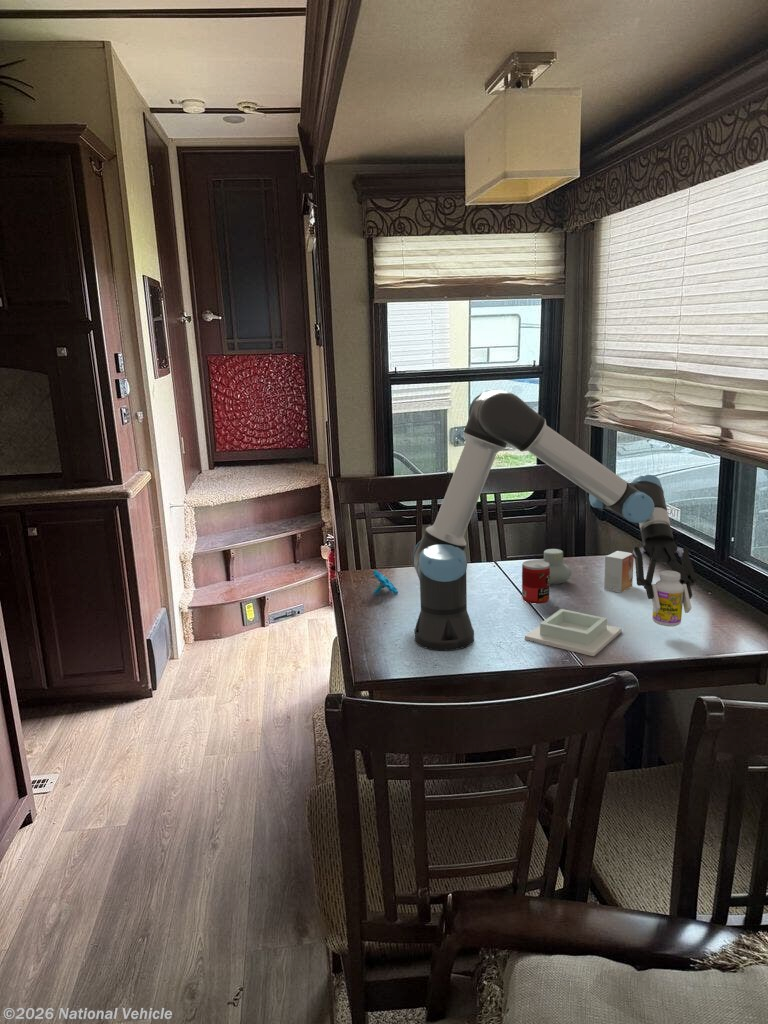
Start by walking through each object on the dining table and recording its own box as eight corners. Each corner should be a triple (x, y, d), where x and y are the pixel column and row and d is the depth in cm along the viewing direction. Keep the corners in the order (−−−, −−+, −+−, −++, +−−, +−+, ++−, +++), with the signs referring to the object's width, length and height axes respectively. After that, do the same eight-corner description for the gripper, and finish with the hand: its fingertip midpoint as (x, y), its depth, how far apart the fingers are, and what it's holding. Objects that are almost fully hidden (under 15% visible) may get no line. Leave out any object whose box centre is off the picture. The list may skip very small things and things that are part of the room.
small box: (621, 593, 204) (622, 559, 202) (603, 589, 208) (604, 555, 206) (633, 586, 210) (634, 553, 208) (615, 582, 214) (616, 550, 211)
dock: (593, 656, 162) (594, 640, 162) (524, 639, 173) (524, 624, 173) (621, 631, 176) (622, 617, 175) (555, 617, 187) (556, 603, 186)
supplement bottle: (650, 624, 170) (653, 575, 167) (654, 615, 176) (657, 567, 173) (679, 629, 167) (683, 578, 164) (682, 619, 173) (685, 570, 170)
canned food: (542, 606, 196) (543, 569, 194) (517, 601, 201) (517, 565, 199) (553, 598, 202) (554, 562, 200) (528, 593, 207) (529, 558, 204)
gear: (399, 594, 206) (375, 571, 205) (386, 608, 206) (361, 585, 206) (400, 587, 217) (376, 565, 216) (387, 600, 217) (364, 579, 217)
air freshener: (531, 579, 220) (531, 549, 218) (551, 575, 224) (551, 545, 221) (554, 588, 210) (555, 557, 208) (575, 583, 214) (575, 553, 212)
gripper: (689, 536, 182) (709, 616, 169) (614, 536, 183) (627, 616, 171) (698, 521, 175) (719, 604, 163) (620, 521, 177) (635, 603, 164)
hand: (672, 610), depth 167 cm, fingers closed on supplement bottle, 7 cm apart
